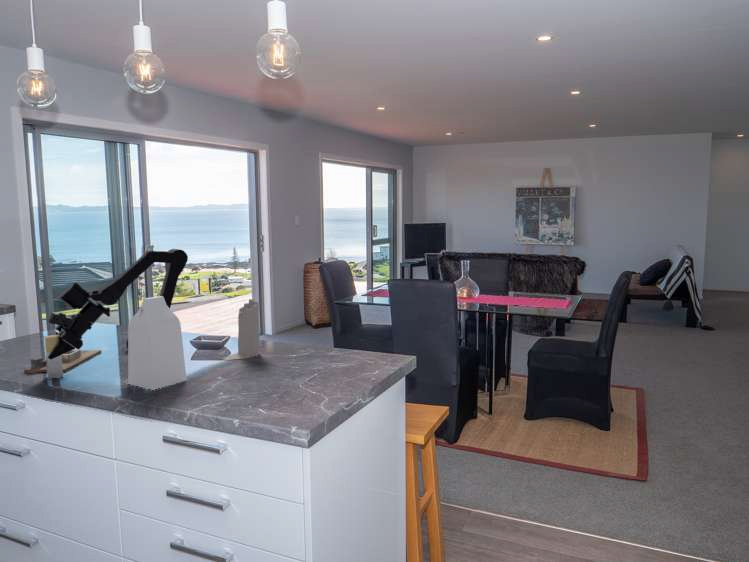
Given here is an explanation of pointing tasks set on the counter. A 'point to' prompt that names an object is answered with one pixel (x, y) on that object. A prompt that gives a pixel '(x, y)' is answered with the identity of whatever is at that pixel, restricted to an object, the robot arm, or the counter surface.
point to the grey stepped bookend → (247, 332)
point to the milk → (155, 346)
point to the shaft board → (63, 360)
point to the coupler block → (54, 364)
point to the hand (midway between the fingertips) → (48, 357)
